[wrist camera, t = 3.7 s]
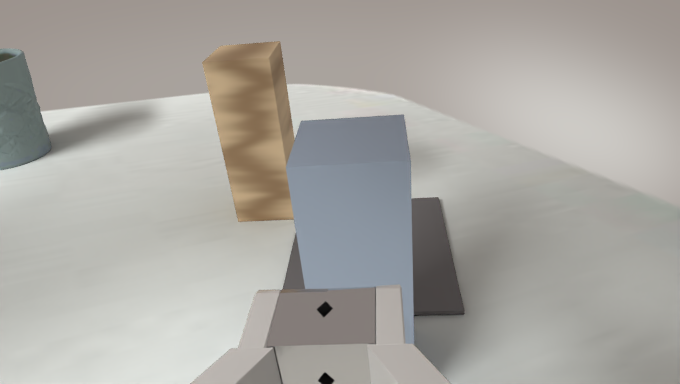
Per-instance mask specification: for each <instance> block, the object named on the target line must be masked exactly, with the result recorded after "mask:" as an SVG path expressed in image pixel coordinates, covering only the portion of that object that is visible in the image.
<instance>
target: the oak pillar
mask: <svg viewBox="0 0 680 384" xmlns="http://www.w3.org/2000/svg"><path fill="white" fill-rule="evenodd" d="M202 64H203V68H204V72H205V77H206V81H207V86H208V90H209V94H210V99H211V103H212V108H213V112H214V116H215V121H216V125H217V130H218V134H219V138H220V143H221V147H222V152H223V156H224V160H225V165H226V169H227V174H228V178H229V182H230V187H231V191H232V196H233V200H234V204H235V209H236V213H237V218H238V222H242V221H264V220H287V219H294V216H293V210H292V203H291V197H290V191H289V185H288V178H287V172H286V165H287V162H288V159H289V156H290V153H291V150H292V147H293V144H294V141H295V140H294V133H293V126H292V119H291V112H290V106H289V99H288V92H287V85H286V78H285V71H284V65H283V58H282V51H281V44H280V41H278V42H265V43H253V44H239V45H226V46H220V47H219V48H218V49H217V50H215V51H214V52H213V53H212V54H211V55H210V56H209V57H208V58H207V59H206V60H205V61H203V62H202Z"/></svg>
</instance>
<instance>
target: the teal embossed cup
mask: <svg viewBox="0 0 680 384" xmlns="http://www.w3.org/2000/svg"><path fill="white" fill-rule="evenodd" d="M50 149H51V142H50V139H49V135H48V132H47V129H46V127H45V125H44V122H43V118H42V115H41V112H40V106H39V105H38V103H37V100H36V95H35V92H34V87H33V84H32V79H31V75H30V72H29V69H28V66H27V62H26V59H25V55H24V53H23V51H21V50H18V49H0V170H4V169H9V168H13V167H17V166H20V165H23V164H26V163H29V162H31V161H34V160H36V159H38V158H40V157H42V156H43V155H45V154H46V153H47V152H49V150H50Z"/></svg>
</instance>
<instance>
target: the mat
mask: <svg viewBox="0 0 680 384" xmlns="http://www.w3.org/2000/svg"><path fill="white" fill-rule="evenodd" d="M411 204H412V255H413V306H414V315H441V314H464V307H463V303H462V299H461V294H460V290H459V285H458V281H457V277H456V272H455V268H454V263H453V259H452V255H451V250H450V246H449V242H448V237H447V233H446V228H445V224H444V220H443V215H442V211H441V206H440V202H439V198H438V197H435V198H414V199H411ZM283 289H305V285H304V279H303V272H302V266H301V260H300V254H299V247H298V241H297V235H295V239H294V243H293V248H292V252H291V256H290V260H289V265H288V269H287V273H286V277H285V282H284V286H283Z"/></svg>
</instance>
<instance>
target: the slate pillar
mask: <svg viewBox="0 0 680 384" xmlns="http://www.w3.org/2000/svg"><path fill="white" fill-rule="evenodd" d="M286 172H287V178H288V185H289V191H290V197H291V203H292V210H293V216H294V222H295V228H296V235H297V241H298V247H299V254H300V260H301V266H302V272H303V279H304V285H305V289H331V288H353V287H374V286H382V285H398V284H400V286H401V287H402V301H403V315H404V328H405V342H406V344H414V306H413V255H412V204H411V160H410V153H409V146H408V140H407V133H406V126H405V120H404V115H389V116H373V117H357V118H341V119H325V120H309V121H301V123H300V126H299V129H298V132H297V135H296V138H295V141H294V144H293V147H292V150H291V153H290V156H289V159H288V162H287V165H286Z"/></svg>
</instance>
